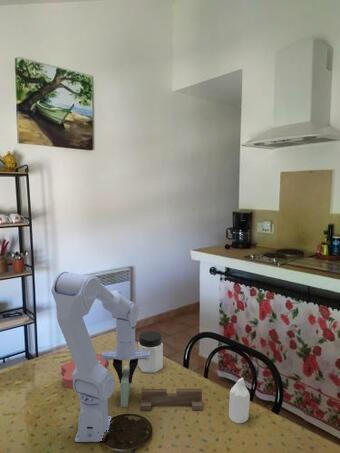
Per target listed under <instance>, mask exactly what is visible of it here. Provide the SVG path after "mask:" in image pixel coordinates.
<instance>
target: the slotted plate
mask: <svg viewBox="0 0 340 453" xmlns="http://www.w3.org/2000/svg"><path fill="white" fill-rule="evenodd" d="M122 372H123V375H122V379H121V383H120V407H121V408H126V407H127V408H128V406H129V401H130V394H131V389H132V386H131V385H132V383H129V376H130V370H129V365H124V366H123V369H122Z"/></svg>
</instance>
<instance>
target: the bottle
mask: <svg viewBox="0 0 340 453" xmlns="http://www.w3.org/2000/svg"><path fill="white" fill-rule="evenodd" d="M244 379H245V378H244V377H240V378H239V379H238V380H237V381H236V382H235V384H234V385H233V386H232V387H231V389H230V391H229V399H228V400H229V404H228V405H229V406H228V417H229V419H230V420H231V421H232V422H233V423H236V424H243V423H246V422H247V421H249V414H250V402H251V401H250V398H251V395H250V392H249V390H248V388H247V386H246V385H245V384H246V383H245V380H244Z"/></svg>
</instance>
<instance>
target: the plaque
mask: <svg viewBox="0 0 340 453" xmlns="http://www.w3.org/2000/svg"><path fill="white" fill-rule="evenodd" d="M95 354H96V356H97V359H98V362H99V363H100V364H101V365H102V366H104V367H105V368H106V369H107V367H108V365H109V360H105V361H102V353H101V354H98V353H95ZM60 367H61V375H62V387H64V388H67V389H73V378H72V373H73V371H74V370H75V368H76V366H75V363H74V361H73V360H72V361H69V362H67V363H64V364H62V365H61V366H60ZM63 375H64V376H63Z"/></svg>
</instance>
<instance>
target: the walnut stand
mask: <svg viewBox="0 0 340 453" xmlns="http://www.w3.org/2000/svg"><path fill="white" fill-rule="evenodd" d="M175 391H176V392H174V393H173V392H172V393H171V392H170V393H167V388H141V390H140V392H141V394H140V396H141V397H140V398H141V399H140V401H141V402H140V411H141V412H151V411H152V407H188V406H189V407H191V410H192V411H194V412H195V411H203V406H204V405H203V402H202V401H203V400H202V398H203V391H202V388H176V390H175Z"/></svg>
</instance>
